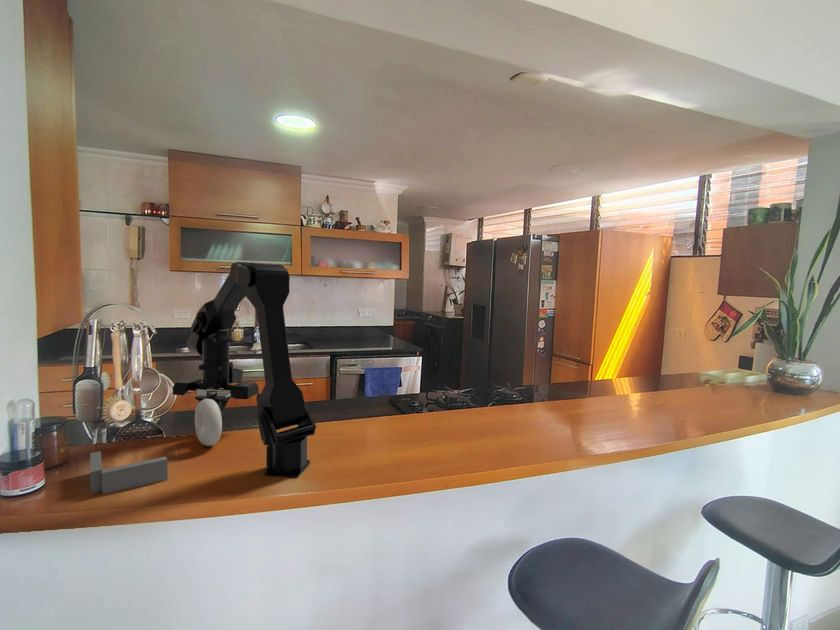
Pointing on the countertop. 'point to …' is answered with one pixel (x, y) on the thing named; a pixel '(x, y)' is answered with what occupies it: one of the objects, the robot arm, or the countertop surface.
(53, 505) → the countertop surface
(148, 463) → the grey l-shaped bracket
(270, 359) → the robot arm
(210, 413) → the donut
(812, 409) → the countertop surface
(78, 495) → the countertop surface
